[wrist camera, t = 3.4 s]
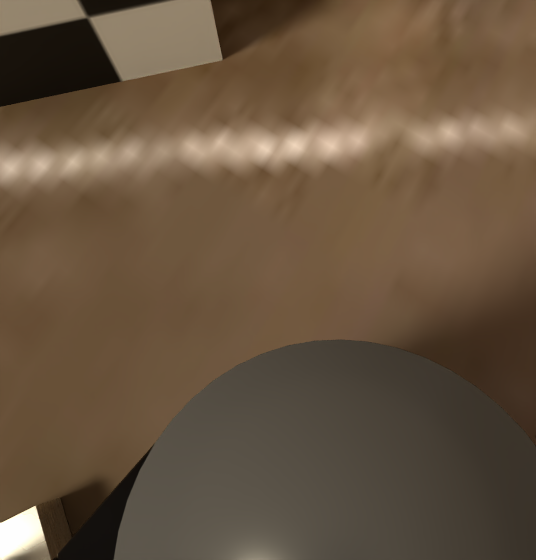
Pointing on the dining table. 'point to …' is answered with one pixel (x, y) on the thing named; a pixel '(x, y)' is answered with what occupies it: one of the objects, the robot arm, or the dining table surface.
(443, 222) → the dining table surface
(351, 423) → the grey rounded cylinder
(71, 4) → the checkerboard
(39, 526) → the white base plate
